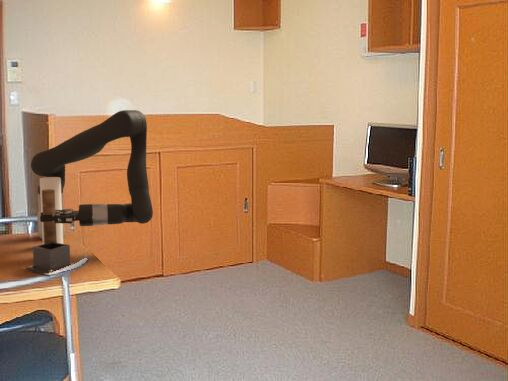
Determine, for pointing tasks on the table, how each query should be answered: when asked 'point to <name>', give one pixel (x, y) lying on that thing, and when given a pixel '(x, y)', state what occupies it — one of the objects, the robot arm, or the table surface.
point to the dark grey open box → (50, 257)
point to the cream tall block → (55, 185)
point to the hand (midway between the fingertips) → (40, 217)
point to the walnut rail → (49, 209)
